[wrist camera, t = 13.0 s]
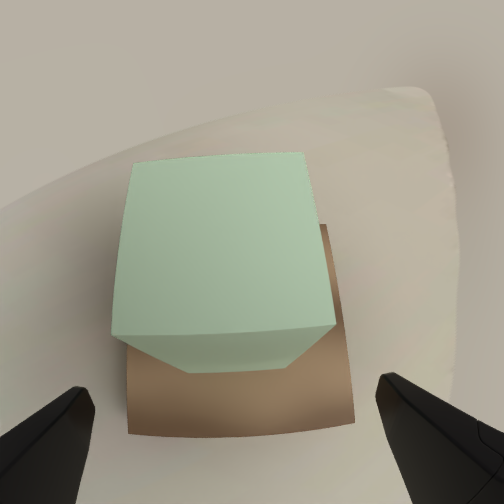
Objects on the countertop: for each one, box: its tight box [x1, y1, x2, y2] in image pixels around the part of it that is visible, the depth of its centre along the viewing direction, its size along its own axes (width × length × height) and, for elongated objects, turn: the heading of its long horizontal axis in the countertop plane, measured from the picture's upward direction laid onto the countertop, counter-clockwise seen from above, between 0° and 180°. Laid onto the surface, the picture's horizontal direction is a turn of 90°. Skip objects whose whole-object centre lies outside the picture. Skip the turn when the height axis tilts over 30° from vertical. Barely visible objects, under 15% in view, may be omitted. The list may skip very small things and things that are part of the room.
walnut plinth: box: [127, 224, 355, 438], centre depth 18 cm, size 12×12×2 cm
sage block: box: [111, 152, 336, 373], centre depth 12 cm, size 5×5×10 cm
